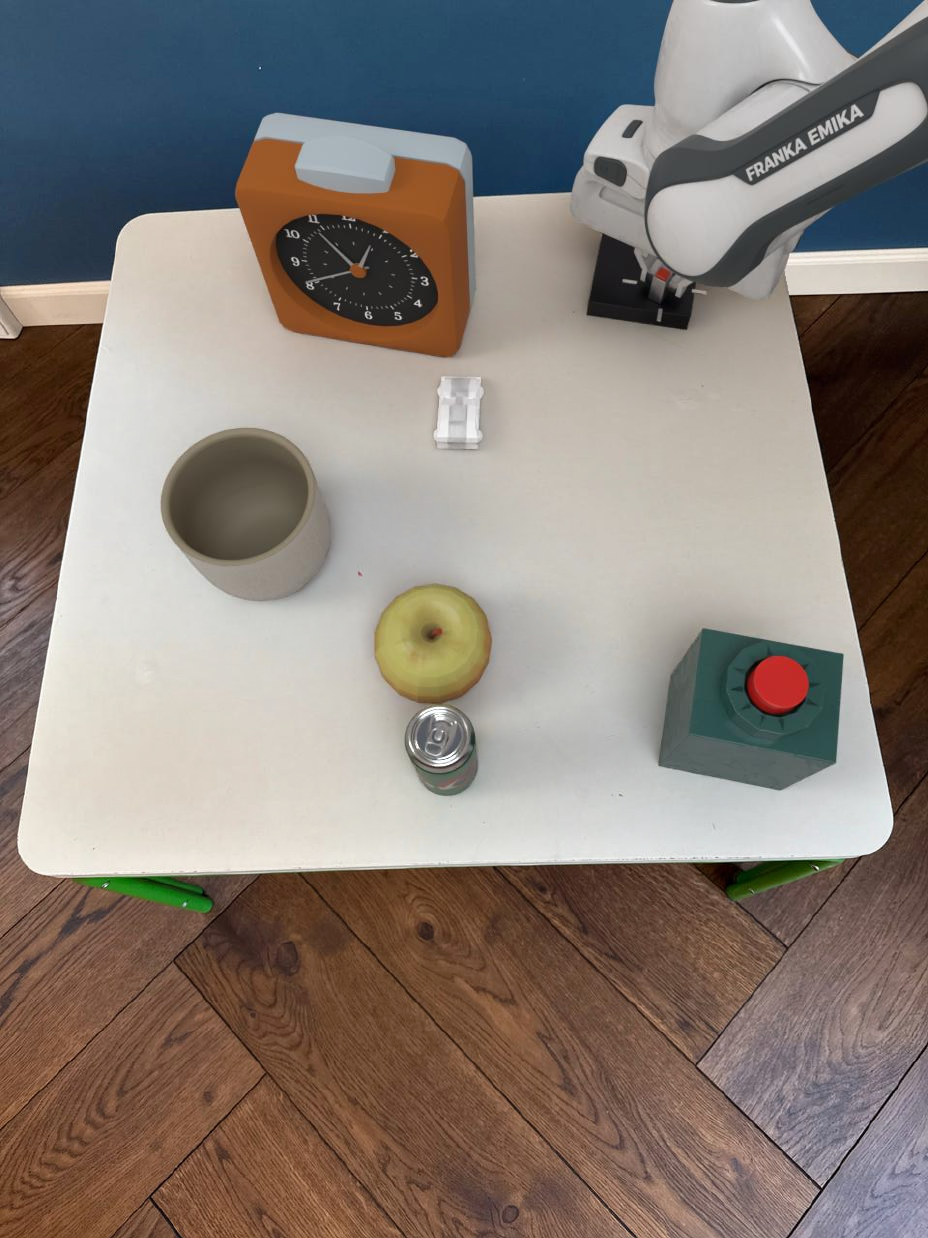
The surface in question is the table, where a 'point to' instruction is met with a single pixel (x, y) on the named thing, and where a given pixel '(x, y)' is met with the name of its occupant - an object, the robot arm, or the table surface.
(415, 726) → the soda can
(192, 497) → the planter
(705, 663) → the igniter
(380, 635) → the apple
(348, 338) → the alarm clock
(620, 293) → the black flat square piece
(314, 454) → the table surface
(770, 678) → the button
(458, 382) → the toy car
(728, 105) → the robot arm
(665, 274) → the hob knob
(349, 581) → the table surface
